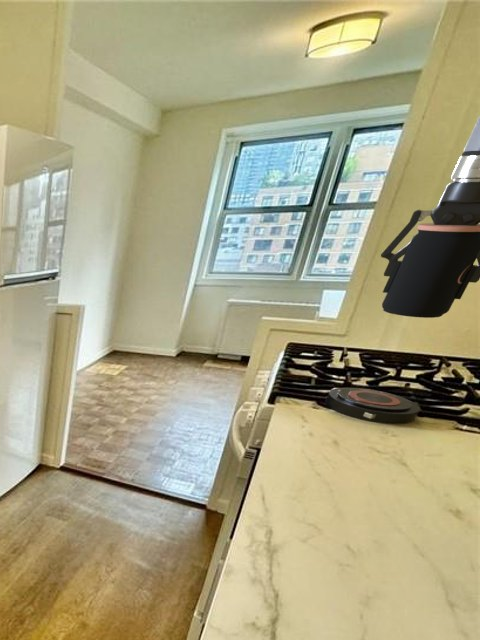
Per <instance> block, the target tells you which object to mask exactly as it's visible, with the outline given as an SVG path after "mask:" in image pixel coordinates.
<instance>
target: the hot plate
mask: <svg viewBox="0 0 480 640" xmlns="http://www.w3.org/2000/svg"><path fill="white" fill-rule="evenodd" d="M324 404H325V405H326V407H327V408H329V409H330V410H331V411H332V410H333V412H334V411H335V412H336V413H339V414H342V415H344V416H347V417H349V418H354V419H357V420H362V421H366V422H371V423H378V424H386V425H404V424H405V425H406V424H411V423H413V422H414V421H415V420H416V418H417V416H418V414H419V413H420V411H421V407H420V405H418V404H417V403H416V402H414V401H412V400H410V399H408V398H405V397H402V396H399V395H397V394H393V393H390V392H386V391H380V390H378V389H377V390H376V389H370V388H361V387H337V388H333V389H331V390H329V391H328V393H327V396H326V398H325V401H324Z"/></svg>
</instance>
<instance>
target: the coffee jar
mask: <svg viewBox="0 0 480 640" xmlns="http://www.w3.org/2000/svg"><path fill="white" fill-rule="evenodd" d="M416 229H417V231H418V232H417V233H416V234H415V235H413V236H412V237H411V240H410V242H409V243H410V245H409V247H408V249H407V252H406V254H404V255H403V256H402V259H401V261H402V262H401V264H400V266H399V268H398V270H397V273H396V275H395V277H394V279H393V281H392V284H391V286H390V288H389V290H388V292H387V293H386V294H385V296H384V298H383V301H382V303H381V307H382V309H383V310H382V311H383V312H385V313H388V314H391V315H395V316H403V317H409V318H411V317H412V318H424V319H429V318H430V319H431V318H432V319H433V318H440V317H442V316H443V315H445V314H447V313H449V311H450V310H451V307H452V305H453V304H454V301H455V300H456V299H455V298H456V296H457V294H458V292H459V290H460V288H461V286H462V284H463V282H464V281H465V279H466V277H467V275H468V273H469V271H470V269H471V267H472V266H473V265H475V262H476V261H477V258H476V256H477V254H478V252H479V250H480V223H479V224H477V225H476V226H466V225H434V223H433V222H427V223H426V222H425V223H423V222H422V223H418V225H417V228H416Z"/></svg>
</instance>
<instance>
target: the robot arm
mask: <svg viewBox="0 0 480 640" xmlns="http://www.w3.org/2000/svg"><path fill="white" fill-rule="evenodd" d="M450 178H451V180H452V182H449V183H448V184H447V185H446V187H445V189H444V192H443V194H442V196H441V198H440V200H439V201H438V204H437V206H436V207H435V208H433V209H428V210H427V209H426V210H425V209H424V210H423V209H420V208H419V209H416V210H414V211H413V213H412V215H411V217H410V220H409V222H408V223H407V224H406V225H405V226H404V227H403V229H402V230H401V231H400V232H399V233H398V234H397V236H396V237H394V239H393V240H392V241H391V242H390V243H389V244H388V246H387V247H386V248H385V249H384V250H383V252H381V254H380V257H381V258H383V259H386V260H388V262H387V263H388V264H387V266H386V268H385V270H384V272H383V277H388V279H387V281H386V284H385V286H384V288H383V290H382V293H384V294H385V293H386V294H387V292H388V290H389V288H390V286H391V284H392V281H393V279H394V277H395V275H396V273H397V270H398V268H399V266H400V264H401V262H402V260H400V259H401V258H403V257H404V255H405V254H406V252H407V249H408V247H409V245H410V242H409V243H408V244H406V245H405V246H404V247H402V248H401V249H400V250H399V251H397V252H395V253H394V252H393V251H394V250H395V249H396V248H397V247H398V245H400V243H401V242H402V241H403V240H404V239H405V238H406V236H408V234H409V233H410V232H411V231H412V230H413V229H414V227H415V226H417V224H418V222H422V221H424V220H425V219H426V218H428V217H430V218H431V221H432V223H434V225H466V226H476V225H477V224H480V115H479V116H478V118H477V121H476V123H475V125H474V126H473V129H472V131H471V134H470V135H469V138H468V140H467V142H466V145H465V146H464V148H463V152H462V154H461V156H460V157H459V159H458V161H457V164H456V165H455V168H454V170H453V172H452V174H451V177H450ZM476 261H477V264H473V266H472V267H471V269H470V271H469V273H468V275H467V277H466V279H465V281H464V282H463V284H462V286H461V288H460V290H459V292H458V294H457V296H456V298H455V300H461V299H462V297H463V295H464V293H465V291H466V290H467V287H468V285H469V283H473V284H474V283H477V282H479V281H480V250H479V252H478V254H477V256H476Z"/></svg>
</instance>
